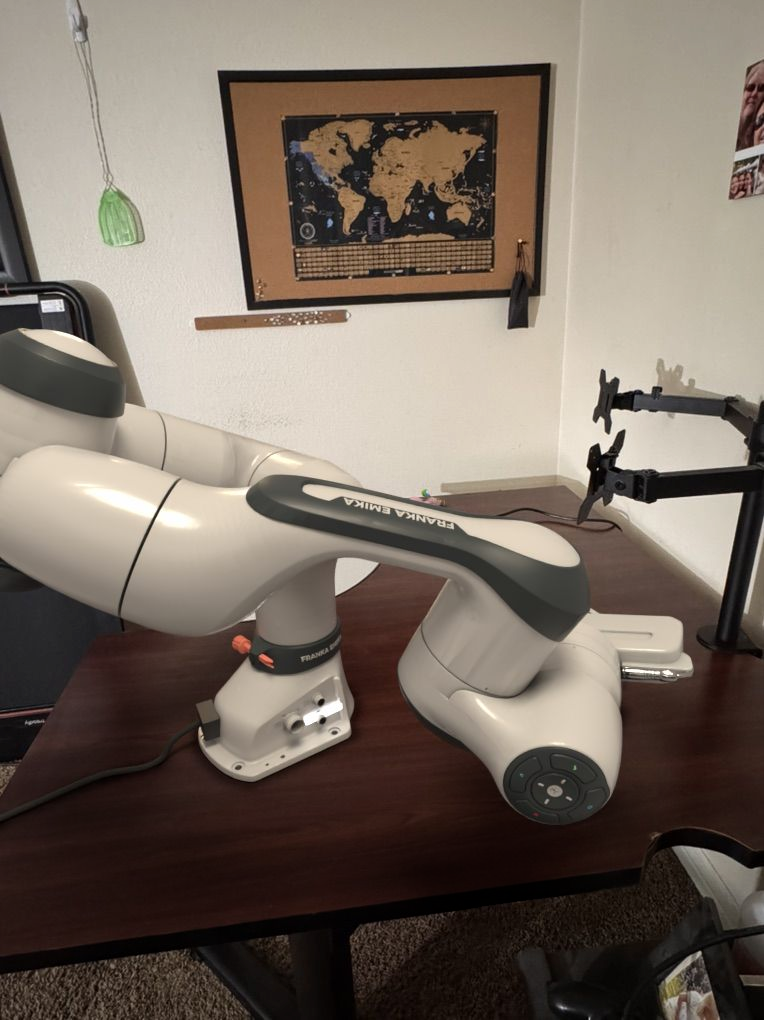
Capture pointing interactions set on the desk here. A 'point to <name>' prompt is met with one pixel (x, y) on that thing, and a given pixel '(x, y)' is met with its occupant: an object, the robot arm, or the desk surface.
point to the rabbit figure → (429, 500)
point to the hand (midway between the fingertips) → (576, 608)
